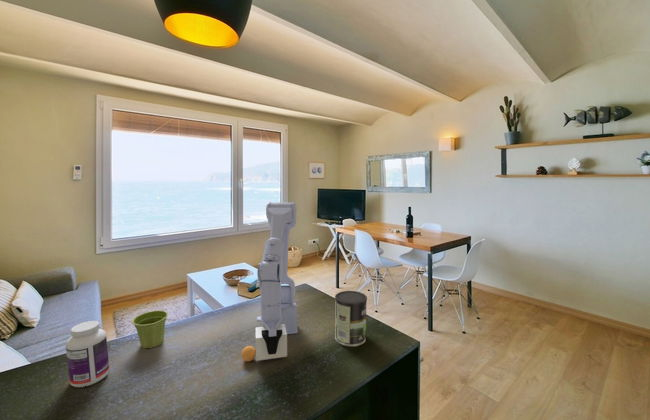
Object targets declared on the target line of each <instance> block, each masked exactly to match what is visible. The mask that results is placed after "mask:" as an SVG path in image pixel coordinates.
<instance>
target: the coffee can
mask: <svg viewBox="0 0 650 420" xmlns="http://www.w3.org/2000/svg"><path fill="white" fill-rule="evenodd" d="M334 300H335V302H334V303H335V304H334V305H335V310H334V312H335V314H334V315H335V316H334V317H335V319H334V321H335V323H334V324H335V325H334V329H335V331H334V339H335V341H336V342H337V343H338V344H340V345H343V346H346V347H359V346H362V345H363V344H364V343H365V342H366V341H367V340H366V339H367V336H366V335H367V301H368V296H367V295H366V294H365V293H363V292H360V291H354V290H343V291H339V292H338V293H336V294H335V295H334Z"/></svg>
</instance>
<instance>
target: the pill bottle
mask: <svg viewBox="0 0 650 420" xmlns="http://www.w3.org/2000/svg"><path fill="white" fill-rule="evenodd" d="M70 335H71V336H70V337H69V338H68V339H67V340H66V342H65V351H66V352H65V353H66V359H67V360H66V361H67V369H68V380H69V384H70V385H71V386H72V387H75V388H85V386H86V387H88V386H89V387H90V386H91V385H94V384H96V383H98V382H100V381H101V380H102V379H104V378H105V377H106V376H107V375H108V374H109V371H110V362H109V361H110V360H109V350H108V340H107V338H108V337H107V332H106V331H105V330H104V329H102V328H100V322H99V321H97V320H89V321H84V322H80V323H78V324H75V325H74V326H72V328H71V329H70Z"/></svg>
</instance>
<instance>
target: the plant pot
mask: <svg viewBox="0 0 650 420" xmlns="http://www.w3.org/2000/svg"><path fill="white" fill-rule="evenodd" d="M168 316H169V314H168V312H167V311H165V310H152V311H151V310H150V311H147V312H144V313H142V314H139V315H138V316H137V315H136V317H134V318H133V319H132V321H131V323H132V324H133V325H134V328H135V329H136V332H137V335H138V339H139V343H140V347H141V348H142V347H143V348H142V349H153V348H152V347H154V348H156V347H158V346H161V344H162V343H163V342H164V339H165V327H166V320H167V318H168ZM157 345H158V346H157ZM155 346H156V347H155Z"/></svg>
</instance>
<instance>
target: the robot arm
mask: <svg viewBox="0 0 650 420" xmlns="http://www.w3.org/2000/svg"><path fill="white" fill-rule="evenodd" d="M265 214H266V219H267V221H268V224H269V227H270V233H269V234H270V235H269V239H267V240H266V241H265V242H264V249H263V254H262V257H261V262H259V263H258V265H257V273H256V274H257V280H258V281H257V282H258V288H259V289H260V316H259V315H258V316H256V322H257V323H261V324H263V326H265V327H266V328H267V329H268V330H262V337H263V339H264V340H265V342H266V346H267V351H268V354H269V355H271V354H276V352H277V347H278V342H279V339H280V337H281V336H282V329H281V330H276V329H277V327H278V325H281V324H285V327H286V332H287V335H293V334H298V332H299V331H298V320H299V319H298V306H297V303H296V302H295V301H296V300H295V299H296V287H295V286H296V283H295V280H294V279H292V278H291V277H290V276H288V265H289V244H290V242H289V241H290V231H291V229H293V228H294V227H296V224H297V204H296V203H295V201H292V202H280V201H279V202H272V201H268V202H267V204H266V208H265Z"/></svg>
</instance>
